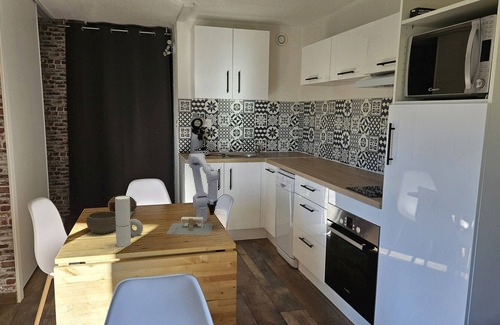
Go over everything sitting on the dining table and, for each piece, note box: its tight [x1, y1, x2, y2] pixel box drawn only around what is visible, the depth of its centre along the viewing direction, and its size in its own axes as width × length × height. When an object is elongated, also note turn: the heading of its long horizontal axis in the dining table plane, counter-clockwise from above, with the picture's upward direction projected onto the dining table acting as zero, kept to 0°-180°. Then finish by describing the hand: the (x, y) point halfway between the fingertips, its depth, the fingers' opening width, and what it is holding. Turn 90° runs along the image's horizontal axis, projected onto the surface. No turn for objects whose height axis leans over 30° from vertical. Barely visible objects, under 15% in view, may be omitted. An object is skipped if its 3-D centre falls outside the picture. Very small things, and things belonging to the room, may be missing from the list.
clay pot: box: [107, 194, 138, 217], centre depth 246 cm, size 15×15×25 cm
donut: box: [130, 218, 144, 237], centre depth 204 cm, size 10×4×10 cm, turn 79°
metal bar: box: [171, 226, 178, 235], centre depth 213 cm, size 10×2×1 cm, turn 1°
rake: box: [188, 218, 198, 231], centre depth 218 cm, size 10×6×7 cm, turn 1°
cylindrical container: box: [115, 195, 132, 248], centre depth 190 cm, size 7×7×25 cm
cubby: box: [165, 216, 214, 236], centre depth 217 cm, size 21×25×6 cm
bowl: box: [86, 210, 116, 235], centre depth 211 cm, size 17×18×10 cm
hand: (212, 213), depth 220 cm, fingers open, 7 cm apart
